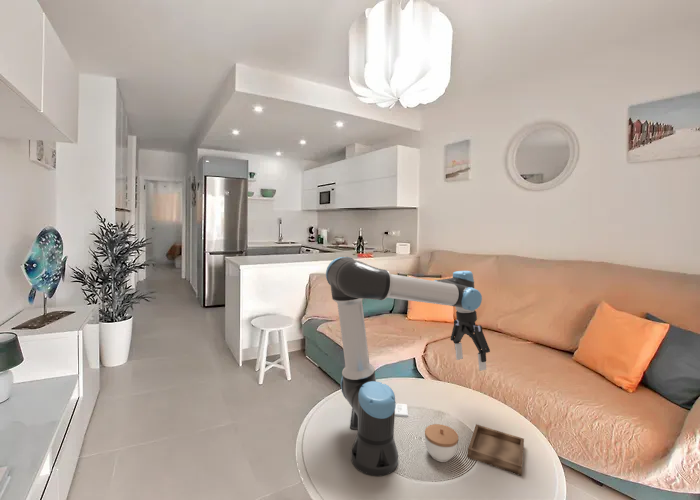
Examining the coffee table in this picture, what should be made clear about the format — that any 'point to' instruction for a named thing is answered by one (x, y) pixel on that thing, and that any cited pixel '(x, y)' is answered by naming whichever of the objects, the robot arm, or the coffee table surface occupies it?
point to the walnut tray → (497, 449)
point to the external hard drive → (401, 410)
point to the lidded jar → (441, 442)
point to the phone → (354, 421)
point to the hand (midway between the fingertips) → (470, 364)
